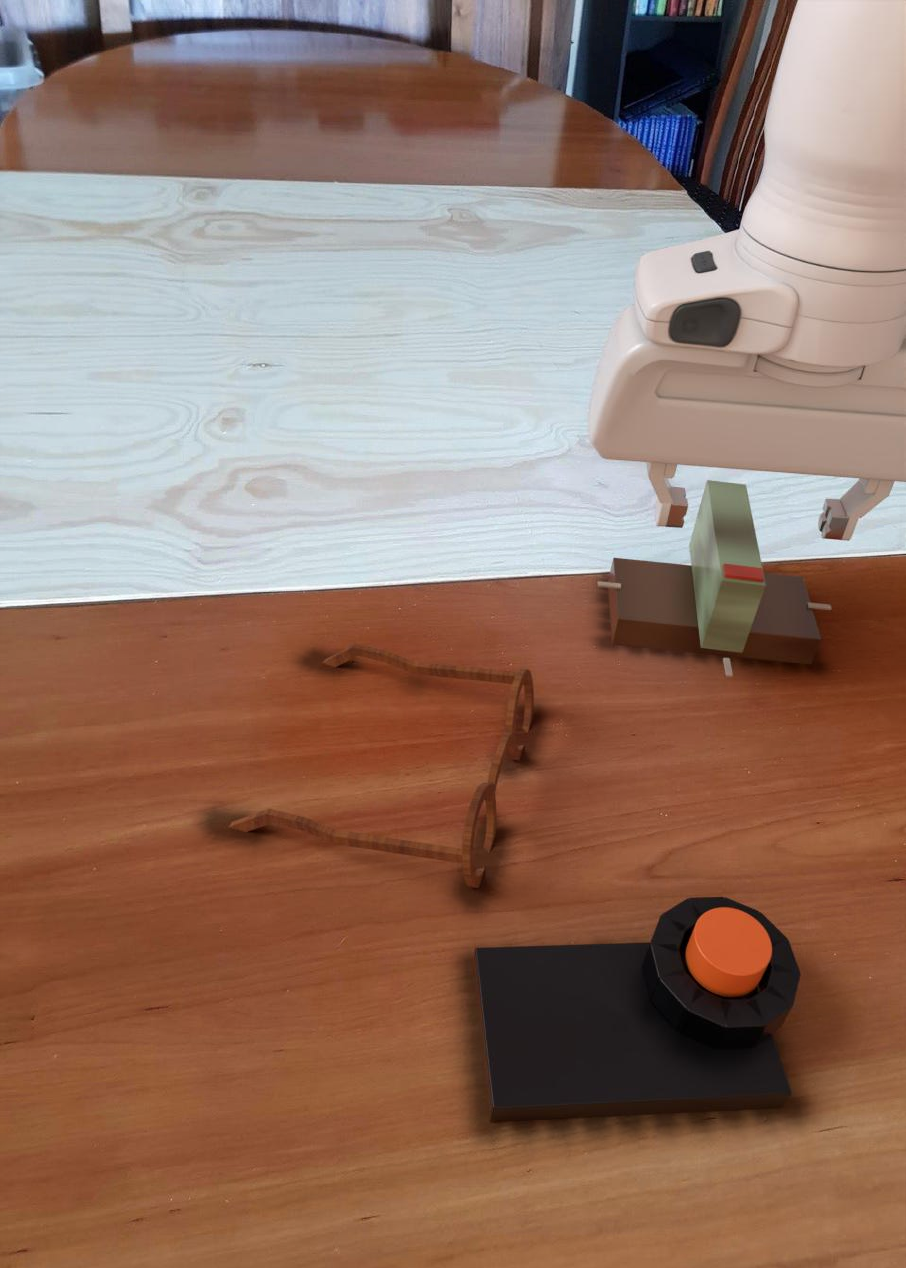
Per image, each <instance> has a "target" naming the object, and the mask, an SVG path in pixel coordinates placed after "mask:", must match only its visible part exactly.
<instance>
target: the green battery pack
mask: <svg viewBox="0 0 906 1268" xmlns="http://www.w3.org/2000/svg"><path fill="white" fill-rule="evenodd" d="M751 508H752V507H751V504H750V498H749V493H748V488H747V484H745V483H735V482H728V481H721V480H719V481H718V480H711V479H707V480H706V482H705V485H704V489H703V493H702V497H701V501H700V503H699V508H698V512H697V514H696V519H695V523H694V526H693V528H692V529H693V530H692V533H691V537H690V540H689V543H688V547H689V549H688V550H689V557H690V565H691V566H692V575H693V584H694V592H695V601H696V610H697V618H698V627H699V636H700V645H701V648H707V649H715V650H723V651H731V652H739V653H742V652H743V650H744V647H745V644H746V641H747V638H748V635H749V632H750V629H751V627H752V624H753V621H754V618H755V615H756V612H757V609H758V606H759V603H760V601H761V598H762V595H763V592H764V589H765V586H766V584H765V578H764V573H765V572H764V567H763V564H762V559H761V554H760V548H759V544H758V538H757V533H756V529H755V523H754V519H753V514H752V509H751Z"/></svg>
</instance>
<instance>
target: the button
mask: <svg viewBox="0 0 906 1268" xmlns="http://www.w3.org/2000/svg"><path fill="white" fill-rule="evenodd" d="M771 956H772V944H771V940H770V937H769V935H768V933H767V931H766V930H765V929H764V927H763V926H762V925H761V924H760V923H759V922H758V921H757V920H756V919H755V918H753V917H752V916H751V915H749V914H747V913H745V912H743V911H740V910H738V909H734V908H728V907H721V908H715V909H711V910H709V911H707V912H705V913H704V914H703V915H702V916H701V917H700V918H699V919H698V920H697V922H696V925H695V927H694V930H693V932H692V935H691V937H690V940H689V942H688V945H687V947H686V953H685V957H686V963H687V966H688V969H689V971H690V973H691V975H692V976H693V977H694V979H695V980H696V981H697V982H698V983H699V984H700V985H701V986H702V987H704V988H705V989H707V990H708V991H710V992H712V993H714V994H717V995H720V996H724V997H740V996H744V995H746V994H748V993H750V992H752V991H753V990H754V989H755V988H756V987H757V988H758V986H759V982H760V980H761V978H762V976H763V974H764V972H765V970H766V968H767V966H768V964H769V962H770V959H771Z"/></svg>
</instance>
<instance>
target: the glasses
mask: <svg viewBox="0 0 906 1268" xmlns="http://www.w3.org/2000/svg"><path fill="white" fill-rule="evenodd" d="M357 657H363V658H366V659H371V660H374V661H378V662H382V663H386V664H389V665H391V666H393V667H396V668H398V669H401V670H403V671H406V672H407V673H411V674H414V675H419V676H429V677H438V678H448V679H458V680H466V681H467V680H469V681H478V682H488V683H489V682H490V683H497V684H507V685H508V684H509V685H511V688H510V692H509V697H508V702H507V708H506V715H505V723H504V724H505V725H504V727H505V729H504V730H505V731H504V732H503V734H502V735H501V737H500V739H499V742H498V745H497V748H496V750H495V753H494V756H493V759H492V762H491V765H490V768H489V773H488V778H487V782H482V783H479V785H478V786H477V787H476V788H475V789H476V790H475V791H474V793H473V796H472V797H471V801H470V804H469V807H468V810H467V814H466V819H465V824H464V828H463V837H462V847H461V848H459V847H455V846H447V845H440V844H432V843H425V842H420V841H413V840H405V839H401V838H400V839H399V838H392V837H385V836H378V835H372V834H365V833H358V832H352V831H346V830H338V829H335V828H332V827H331V826H327V825H325V824H322V823H320V822H317V821H315V820H313V819H310V818H308V817H305V816H301V815H297V814H294V813H289V812H285V811H282V810H276V809H272V808H266V809H265V810H261V811H259V812H256V813H253V814H251V815H247V816H245V817H242V818H239V819H237V820H233V821H231V823H230V824H229V825H228V826H227V828H229V829H233V830H237V831H240V832H245V833H247V832H250V831H253V830H256V829H259V828H262V827H265V826H268V825H271V824H276V825H280V826H284V827H287V828H292V829H295V830H298V831H302V832H305V833H308V834H310V835H312V836H315V837H317V838H319V839H322V840H325V841H328V842H330V843H332V844H335V845H338V846H343V847H352V848H358V849H365V850H370V851H371V850H372V851H379V852H385V853H390V854H397V855H403V856H410V857H416V858H424V859H431V860H438V861H443V862H450V863H457V864H461V865H462V866H461V867H462V875H463V879H464V883H465V885H466V886H467V887H468V888H474V889H480V888H479V887H480V885H481V881H482V879H483V875H484V872H485V869H486V867H485V866H484V867H480V868H477V869H475V863H474V841H475V834H476V828H477V822H478V818H479V815H480V813H481V810H482V806H483V804H484V803H485V810H486V826H485V827H486V829H485V838H484V843H483V849H484V850H485V851H486V852H487V853H488V854H490V853H491V850H492V847H493V844H494V841H495V837H496V834H497V798H496V792H497V791H496V789H497V786H498V781H499V778H500V774H501V772H502V768H503V766H504V763H505V761H506V760H505V759H506V756H507V754H508V757H509V759H510V760H512V761H520V759H521V757H522V753H523V750H524V747H525V744H521V745H518V744H517V735H516V718H517V717H516V716H517V709H518V703H519V699H520V694H521V691H522V688H523V690H524V714H523V720H522V721H523V722H522V730H523V731H524V732H526V733H527V734H528V733H529V730H530V727H531V725H532V722H533V718H534V701H535V700H534V699H535V696H534V694H535V693H534V691H535V690H534V681H533V675H532V672H531V670H530V669H529V668H519V670H517V671H511V670H510V671H509V670H501V669H491V668H481V667H470V666H460V665H451V664H450V665H449V664H442V663H441V664H439V663H429V662H419V661H414V660H411V659H409V658H406V657H404V656H401V655H398V654H397V653H393V652H391V651H388V650H385V649H380V648H375V647H371V646H367V645H360V644H357V643H354V644H352V645H351V646H348V647H347V648H344V649H343V650H341V651H339V652H337V653H335V654H333V655H331V656H328V657H327V658H325V659H324V660H323V661H322V662H321V664H324V665H327V666H330V667H333V668H337V667H339V666H341V665H343V664H344V663H346V662H347V663H348V662H349V661H351V660H352V659H353V660H354V659H355V658H357Z"/></svg>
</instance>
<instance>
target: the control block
mask: <svg viewBox="0 0 906 1268" xmlns="http://www.w3.org/2000/svg"><path fill="white" fill-rule="evenodd" d="M721 907H728V908H734V909H738V910H740V911H743V912H745V913H747V914H749V915H751V916H752V917H753V918H755V919H756V920H757V921H758V922H759V923H760V924H761V925H762V926H763V927H764V929H765V930H766V931H767V933H768V935H769V937H770V940H771V944H772V956H771V959H770V962H769V964H768V966H767V968H766V970H765V972H764V974H763V976H762V978H761V980H760V982H759V984H758V986H757V987H756V988H755V989H754V990H753V991H752V992H750V993H748V994H746V995H744V996H740V997H724V996H720V995H717V994H714V993H712V992H710V991H708V990H707V989H705V988H704V987H702V986H701V985H700V984H699V983H698V982H697V981H696V980H695V979H694V977H693V976H692V975H691V973H690V971H689V969H688V966H687V963H686V957H685V953H686V947H687V945H688V942H689V940H690V937H691V935H692V932H693V930H694V927H695V925H696V922H697V920H698V919H699V918H700V917H701V916H702V915H703V914H704V913H705V912H707V911H709V910H711V909H715V908H721ZM650 939H651V940H650V941H649V942H621V943H618V942H617V943H589V944H588V943H587V944H557V945H555V944H554V945H553V944H552V945H526V946H524V945H523V946H520V945H519V946H491V947H475V948H474V953H473V960H472V970H473V971H472V972H473V980H474V990H475V998H476V999H475V1000H476V1008H477V1017H478V1027H479V1036H480V1045H481V1046H480V1047H481V1054H482V1064H483V1073H484V1074H483V1075H484V1084H485V1092H486V1102H487V1111H488V1121H489V1123H506V1122H508V1123H509V1122H528V1121H529V1122H530V1121H548V1120H549V1121H550V1120H551V1121H552V1120H570V1119H589V1118H590V1119H591V1118H592V1119H593V1118H608V1117H611V1118H612V1117H628V1116H631V1117H632V1116H651V1115H653V1116H654V1115H670V1114H671V1115H672V1114H692V1113H693V1114H694V1113H710V1112H729V1111H731V1112H732V1111H752V1110H753V1111H754V1110H773V1109H783V1108H784V1107H785V1105H786V1104H787V1102H788V1100H789V1098H790V1097H791V1096H792V1091H791V1088H790V1085H789V1082H788V1078H787V1076H786V1075H787V1074H786V1072H785V1069H784V1065H783V1063H782V1060H781V1056H780V1054H779V1050H778V1048H777V1044H776V1041H775V1039H774V1035H773V1034H774V1033H775V1032H777V1031H778V1030H779V1029H781V1028H782V1026H783V1025H784V1022H785V1021H786V1019H787V1017H788V1015H789V1014H790V1012H791V1010H792V1008H793V1007H794V1004H795V1000H796V995H797V992H798V987H799V983H800V980H801V975H802V974H801V971H800V967H799V964H798V962H797V959H796V956H795V953H794V951H793V948H792V945H791V942H790V940H789V939H788V937H787V936H786V935H785V934H784V933H783V932H782V931H781V930H780V929H778V927H777V926H776V925H775V924H774V923H773V922H772V921H771V920H770V919H769V918H768V917H766V915H764V913H762V911H760V910H757V909H755V908H752V907H750V906H748V905H745V904H743V903H740V902H739V901H736V900H733V899H731V898H728V897H726V896H725V897H724V896H701V897H700V896H699V897H694V896H693V897H689V898H685V899H684V900H682V901H681V902H679V903H677V904H676V905H674V906H672V907H671V908H670V909H668V910H666V911H664V912H663V913H662V914H660V917H659V919H658V921H657V924H656V926H655V929H654V932H653V934H652V937H651V938H650ZM758 987H759V989H758Z"/></svg>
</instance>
